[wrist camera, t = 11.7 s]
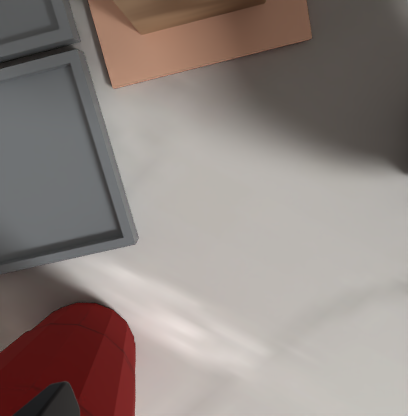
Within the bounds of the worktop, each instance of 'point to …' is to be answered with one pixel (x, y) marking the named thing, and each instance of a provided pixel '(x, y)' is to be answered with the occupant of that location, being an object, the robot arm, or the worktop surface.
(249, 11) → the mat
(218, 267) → the worktop surface
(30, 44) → the tray
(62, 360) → the plastic cup
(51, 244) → the tray
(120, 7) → the cardboard box
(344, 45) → the worktop surface
